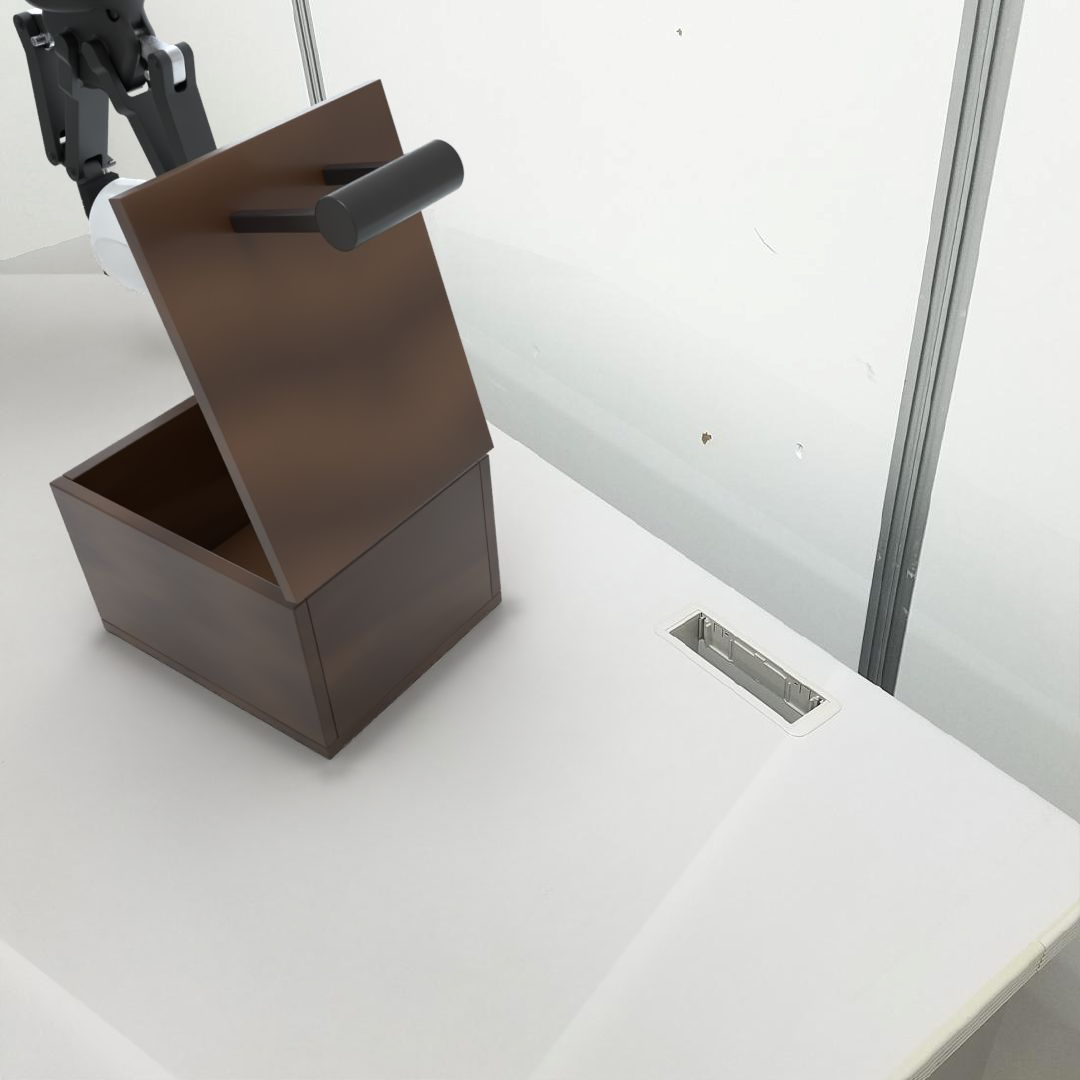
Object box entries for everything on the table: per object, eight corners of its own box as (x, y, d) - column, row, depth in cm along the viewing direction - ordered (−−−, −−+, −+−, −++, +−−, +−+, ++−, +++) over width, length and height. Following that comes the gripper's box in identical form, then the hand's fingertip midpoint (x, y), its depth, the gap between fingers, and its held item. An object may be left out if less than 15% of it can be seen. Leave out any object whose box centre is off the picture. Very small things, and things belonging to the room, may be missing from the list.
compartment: (104, 628, 67) (47, 482, 60) (285, 499, 75) (252, 358, 69) (329, 760, 60) (293, 610, 53) (502, 600, 68) (489, 454, 61)
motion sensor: (214, 312, 84) (189, 203, 79) (98, 320, 83) (65, 211, 78) (223, 256, 90) (200, 152, 85) (115, 264, 89) (85, 159, 84)
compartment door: (107, 199, 44) (245, 193, 39) (367, 79, 52) (508, 64, 47) (285, 601, 53) (414, 634, 48) (482, 445, 61) (609, 462, 57)
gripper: (-96, -90, 73) (24, 266, 88) (141, -31, 64) (228, 352, 79) (13, -117, 78) (109, 226, 93) (248, -65, 69) (311, 304, 84)
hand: (164, 284), depth 86 cm, fingers closed on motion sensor, 8 cm apart
